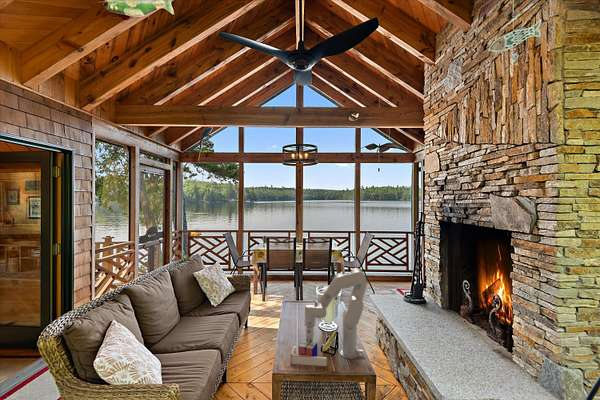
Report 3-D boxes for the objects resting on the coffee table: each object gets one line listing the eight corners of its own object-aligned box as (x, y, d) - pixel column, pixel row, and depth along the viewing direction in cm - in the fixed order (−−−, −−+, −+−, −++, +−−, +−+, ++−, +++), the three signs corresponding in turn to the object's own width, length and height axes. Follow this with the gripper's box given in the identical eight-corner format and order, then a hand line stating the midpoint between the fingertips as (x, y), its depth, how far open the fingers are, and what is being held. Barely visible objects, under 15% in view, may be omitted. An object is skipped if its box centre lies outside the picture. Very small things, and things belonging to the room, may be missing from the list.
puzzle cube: (312, 364, 222) (312, 349, 222) (298, 361, 226) (298, 346, 226) (317, 356, 232) (317, 342, 231) (304, 353, 235) (303, 339, 235)
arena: (327, 355, 235) (327, 347, 234) (326, 366, 220) (326, 357, 220) (293, 352, 238) (293, 345, 238) (290, 363, 223) (290, 355, 223)
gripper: (314, 327, 229) (313, 354, 229) (316, 319, 243) (315, 344, 244) (303, 326, 230) (302, 353, 230) (305, 318, 244) (305, 344, 245)
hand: (309, 349), depth 237 cm, fingers closed
